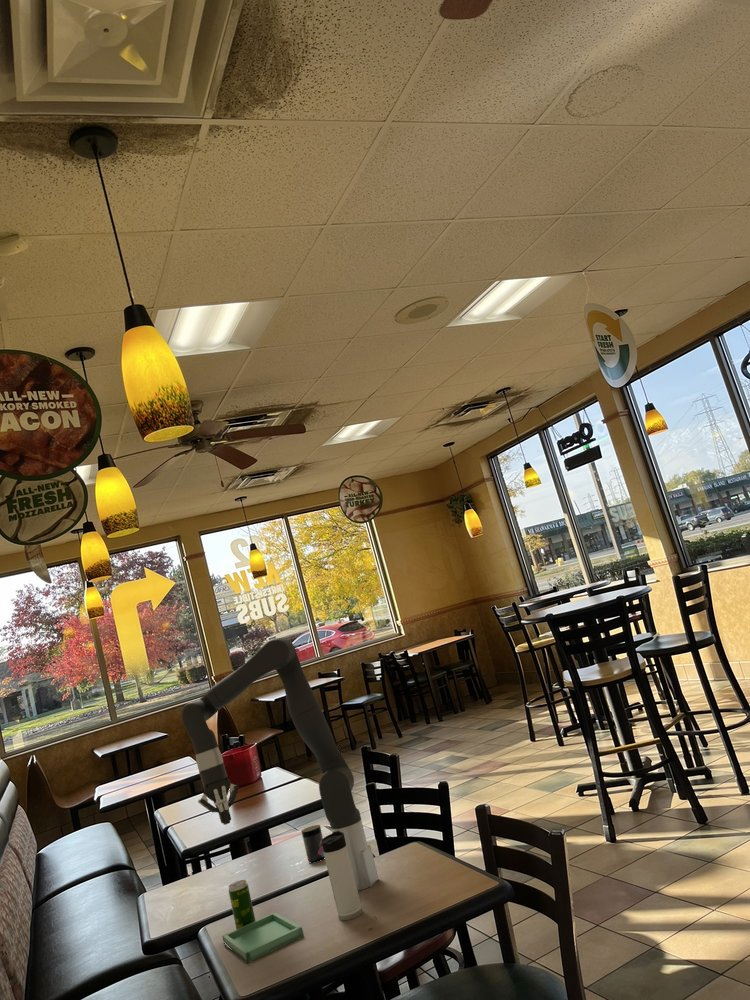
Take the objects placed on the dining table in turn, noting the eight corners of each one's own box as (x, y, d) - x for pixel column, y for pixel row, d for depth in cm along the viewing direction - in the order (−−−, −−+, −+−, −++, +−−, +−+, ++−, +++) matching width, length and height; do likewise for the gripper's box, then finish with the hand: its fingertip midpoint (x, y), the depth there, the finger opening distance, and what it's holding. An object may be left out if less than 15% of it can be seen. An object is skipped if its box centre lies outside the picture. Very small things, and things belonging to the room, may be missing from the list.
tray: (224, 944, 191) (222, 935, 192) (276, 920, 199) (274, 912, 199) (247, 963, 174) (245, 953, 175) (303, 936, 182) (301, 926, 182)
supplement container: (318, 863, 244) (310, 831, 246) (304, 864, 248) (297, 832, 250) (331, 855, 249) (324, 824, 251) (317, 856, 253) (310, 825, 255)
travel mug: (366, 907, 190) (347, 828, 194) (357, 919, 184) (338, 837, 188) (345, 911, 192) (326, 832, 196) (335, 922, 186) (316, 841, 189)
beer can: (248, 924, 202) (238, 879, 204) (260, 925, 198) (250, 879, 201) (233, 934, 197) (223, 887, 200) (245, 934, 194) (235, 887, 196)
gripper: (227, 759, 227) (243, 815, 223) (186, 774, 220) (202, 832, 216) (235, 757, 221) (251, 814, 217) (193, 772, 214) (209, 833, 210)
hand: (226, 823), depth 217 cm, fingers closed
